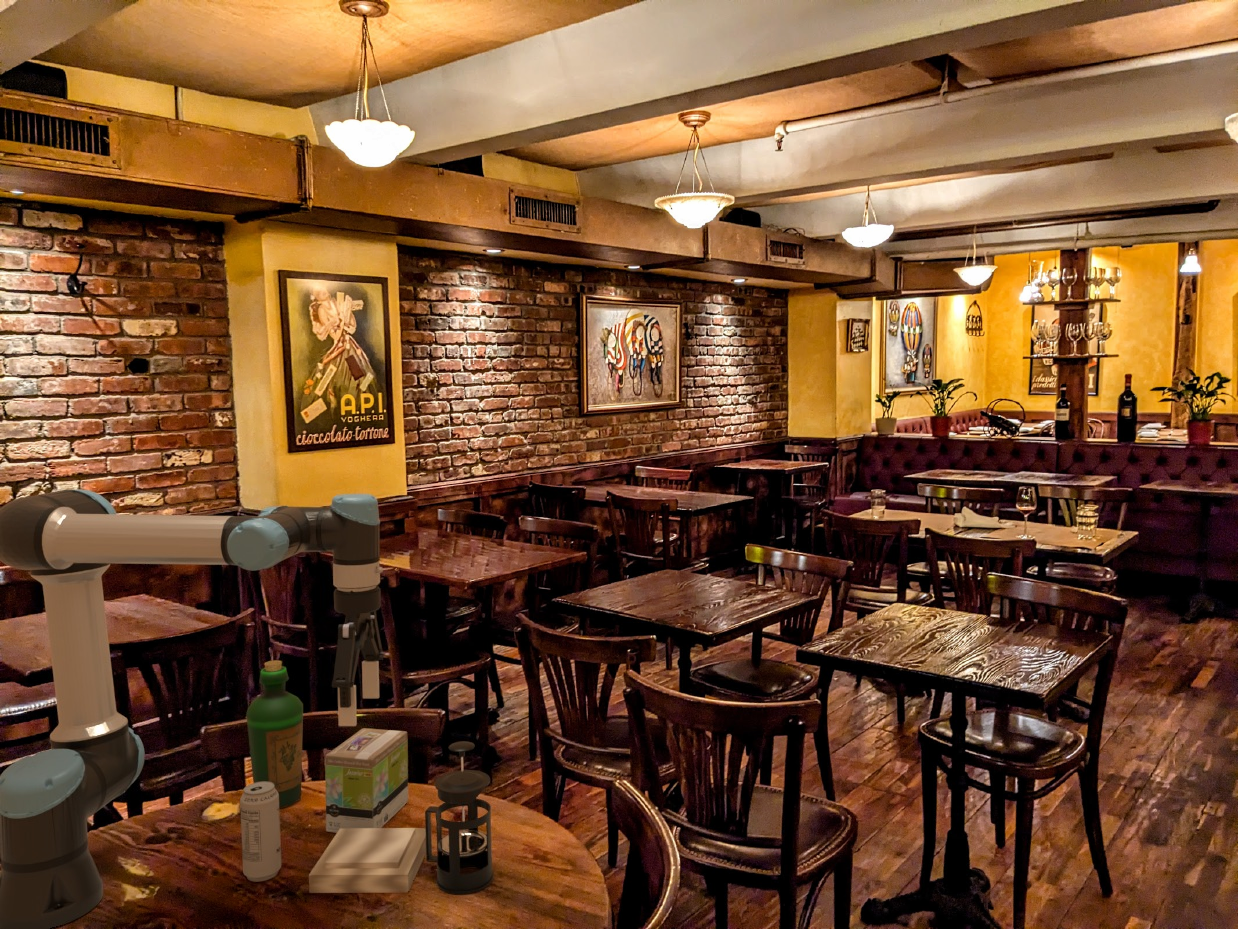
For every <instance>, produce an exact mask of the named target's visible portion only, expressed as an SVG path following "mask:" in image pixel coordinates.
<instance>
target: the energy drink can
mask: <svg viewBox="0 0 1238 929" xmlns="http://www.w3.org/2000/svg"><path fill="white" fill-rule="evenodd" d="M274 786H275V785H274V784H273V783H272V782H266V781H264V782H256V783H249V784H247V785H246V786H245V787H244V788H243V793H242V795H241V797H240V799H239V807H240V826H241V827H240V831H241V849H242V851H241V854H242V856H241V857H242V871H243V872H242V873H243V875H244V876H246V879H247V880H248V881H251V882H257V883H258V882H259V883H260V882H265V881H268V880H270V879H272V878H274V877H276V876H277V875H278V873H279V870H280V869H281V868H282V848H281V847H282V846H281V844H282V842H281V840H282V839H281V819H280V818H281V816H280V808H279V794H278V792H277V790H276V789H275V788H274Z"/></svg>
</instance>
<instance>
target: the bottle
mask: <svg viewBox="0 0 1238 929" xmlns="http://www.w3.org/2000/svg"><path fill="white" fill-rule="evenodd" d="M282 664H283V661H282V660H275V659H274V660H269V661H266V662H264V668H262V669H261V671H260V674H259V675H260V676H259V684H260V685H262V686H261V687H262V692H263V693H262V694H260V695H259V696H257V697H256V698H255V699H253V700H252V701H251V703H250V705H249V707H248V708H247V711H246V713H245V716H246V723H247V724H246V725H247V734H248V744H249V745H248V746H249V754H250V762H251V772H252V773H251V774H252V781H253V783H256V782H264V781H266V782H272V783H273V784H274V785H275V786H274V788H275V789H276V790H277V792H278V794H279V809H283V808H286V807H289V806H292V805H293V804H295V803H296V802H298V801H300V800H301V797H302V779H303V778H302V777H303V776H302V772H303V771H302V770H303V769H302V767H303V764H302V762H303V730H304V728H303V727H304V726H303V725H304V724H303V722H304V721H303V720H304V703H303V702H302V701H301V699H300V697H298V696H296V695H294V694H293V693H291V692H288V691H287V690H286V682H288V681H289V679H290V678H289V675H288V671H287V667H286V666H284V665H282Z"/></svg>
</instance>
